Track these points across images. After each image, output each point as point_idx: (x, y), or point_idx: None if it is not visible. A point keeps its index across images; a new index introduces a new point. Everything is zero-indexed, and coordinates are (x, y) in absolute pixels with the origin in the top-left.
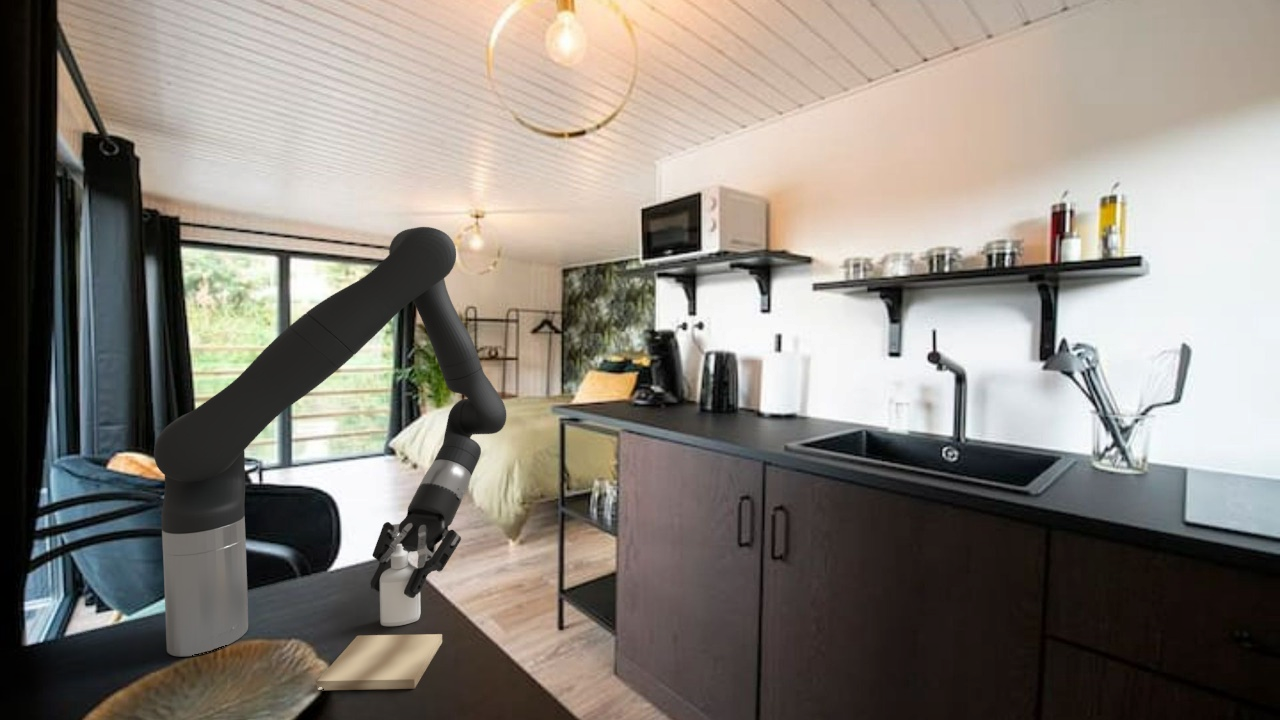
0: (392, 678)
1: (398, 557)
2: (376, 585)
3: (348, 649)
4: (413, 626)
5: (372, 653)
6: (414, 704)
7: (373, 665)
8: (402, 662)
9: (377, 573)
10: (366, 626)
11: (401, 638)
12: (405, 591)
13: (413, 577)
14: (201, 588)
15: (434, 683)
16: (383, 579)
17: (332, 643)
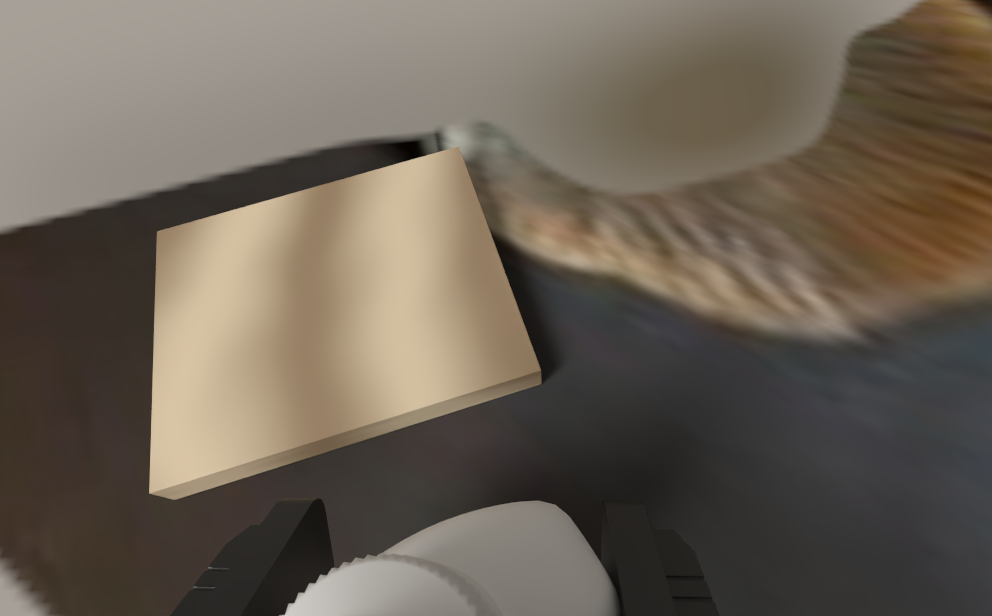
0: (230, 215)
1: (326, 577)
2: (606, 527)
3: (494, 284)
4: None
5: (382, 292)
6: (152, 206)
7: (332, 243)
8: (236, 282)
9: (659, 580)
10: None
11: (324, 406)
12: (302, 498)
13: (229, 585)
14: None
15: (123, 285)
16: (516, 503)
17: (650, 357)
